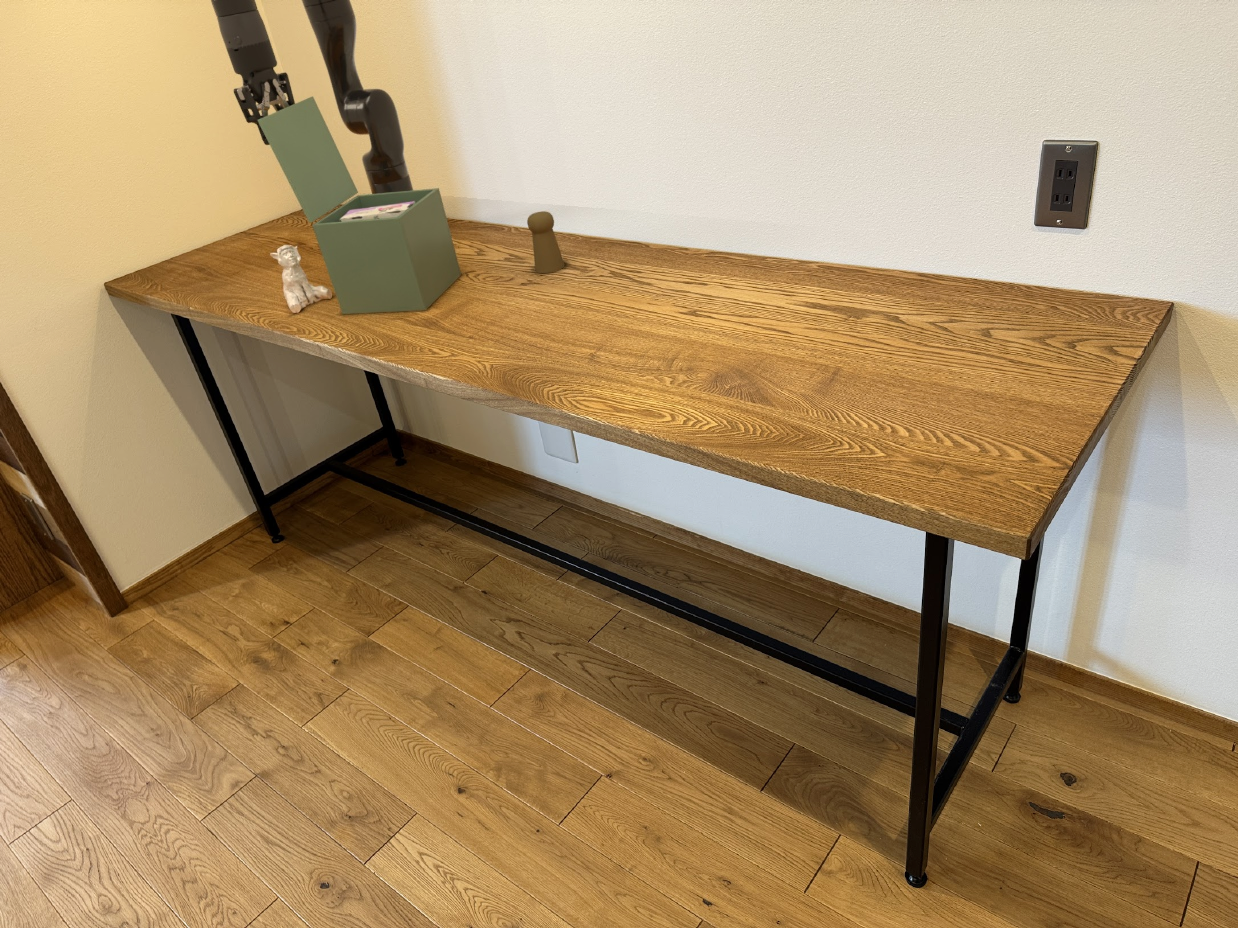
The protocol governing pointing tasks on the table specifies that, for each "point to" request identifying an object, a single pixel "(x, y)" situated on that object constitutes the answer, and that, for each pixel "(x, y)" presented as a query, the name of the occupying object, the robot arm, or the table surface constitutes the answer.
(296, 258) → the sitting furry creature
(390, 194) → the chest
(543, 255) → the brown game pawn
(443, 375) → the table surface
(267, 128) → the lid
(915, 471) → the table surface
